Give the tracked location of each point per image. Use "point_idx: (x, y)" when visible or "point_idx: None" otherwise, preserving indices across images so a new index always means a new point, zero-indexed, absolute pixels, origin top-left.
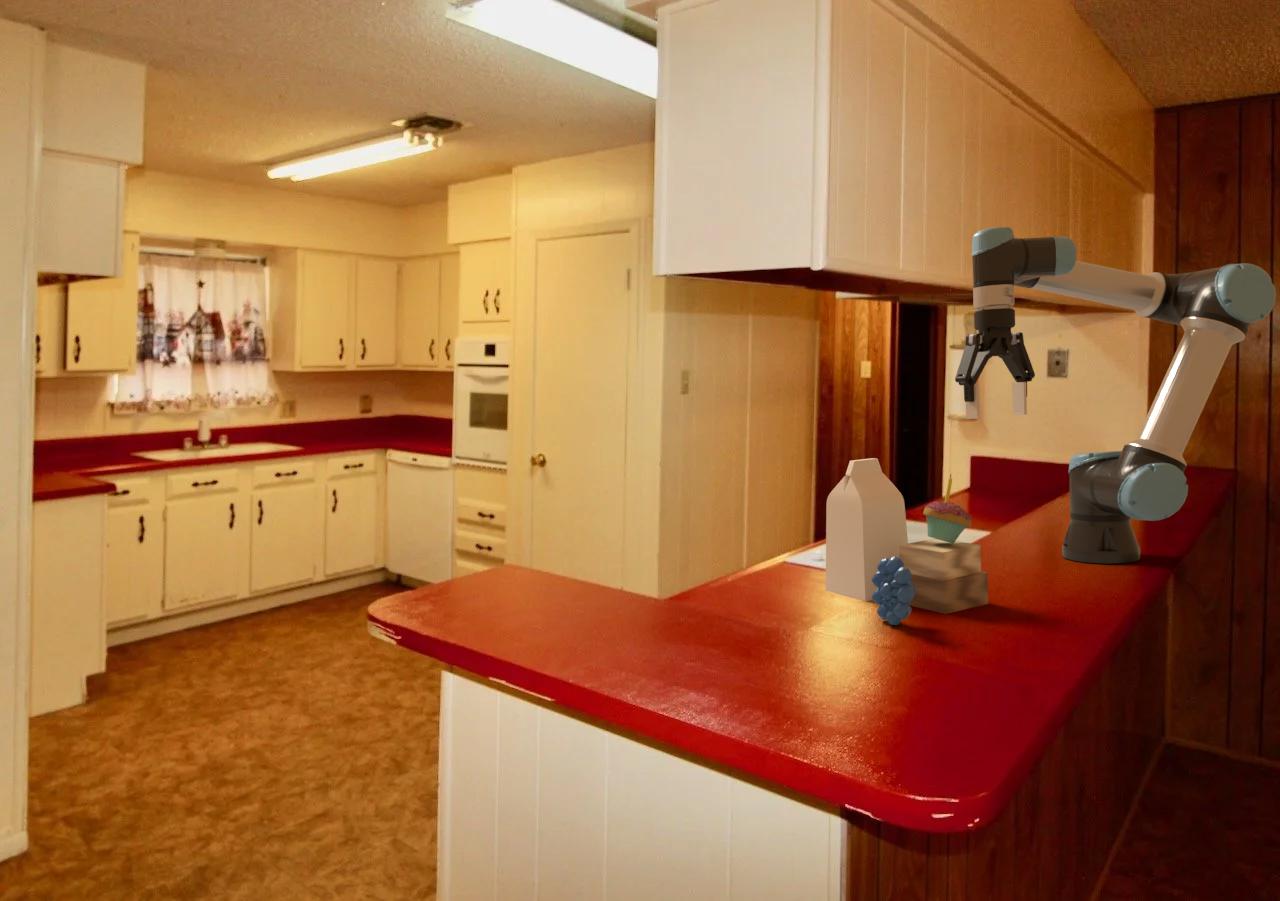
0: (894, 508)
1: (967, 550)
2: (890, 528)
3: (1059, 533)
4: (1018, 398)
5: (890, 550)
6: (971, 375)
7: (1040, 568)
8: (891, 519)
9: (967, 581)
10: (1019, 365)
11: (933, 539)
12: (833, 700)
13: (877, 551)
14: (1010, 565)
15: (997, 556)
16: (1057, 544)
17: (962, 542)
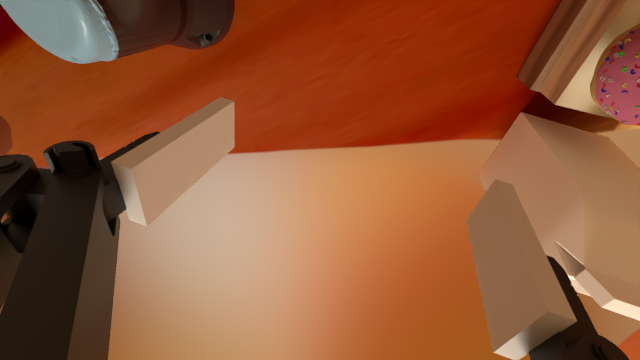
0: (602, 190)
1: None
2: (598, 173)
3: (118, 105)
4: (196, 153)
5: (584, 153)
6: None
7: (298, 32)
8: (602, 181)
9: None
10: (49, 264)
11: (572, 103)
12: None
13: (614, 163)
14: (304, 75)
15: (267, 111)
16: (165, 80)
17: (602, 40)
